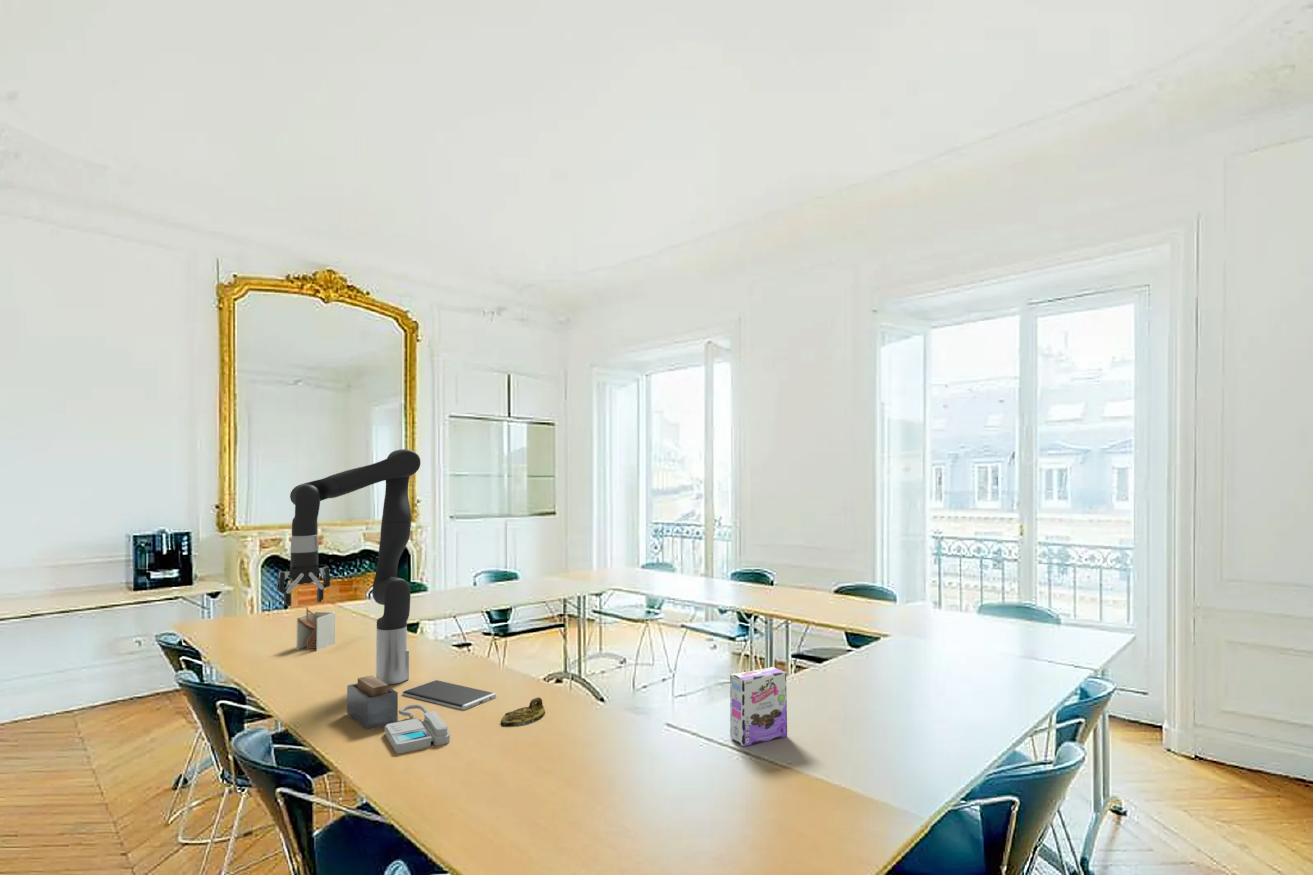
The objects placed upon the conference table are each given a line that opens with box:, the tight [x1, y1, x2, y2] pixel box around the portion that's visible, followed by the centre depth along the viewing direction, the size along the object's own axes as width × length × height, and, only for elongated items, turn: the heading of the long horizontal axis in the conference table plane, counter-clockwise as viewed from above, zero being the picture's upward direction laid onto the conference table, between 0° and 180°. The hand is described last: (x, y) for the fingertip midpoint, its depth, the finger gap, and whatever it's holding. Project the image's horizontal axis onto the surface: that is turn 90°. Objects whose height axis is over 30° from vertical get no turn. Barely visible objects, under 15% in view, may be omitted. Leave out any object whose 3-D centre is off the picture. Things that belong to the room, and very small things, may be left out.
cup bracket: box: [346, 682, 399, 731], centre depth 193 cm, size 8×16×8 cm, turn 42°
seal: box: [500, 696, 546, 727], centre depth 192 cm, size 9×5×15 cm
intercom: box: [384, 704, 451, 754], centre depth 183 cm, size 13×4×25 cm
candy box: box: [729, 666, 788, 747], centre depth 177 cm, size 14×6×16 cm, turn 117°
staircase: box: [296, 607, 336, 651], centre depth 271 cm, size 9×11×17 cm
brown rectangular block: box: [357, 675, 389, 698], centre depth 193 cm, size 4×12×5 cm, turn 42°
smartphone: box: [402, 679, 497, 711], centre depth 211 cm, size 13×27×2 cm, turn 59°
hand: (303, 603), depth 211 cm, fingers open, 8 cm apart
